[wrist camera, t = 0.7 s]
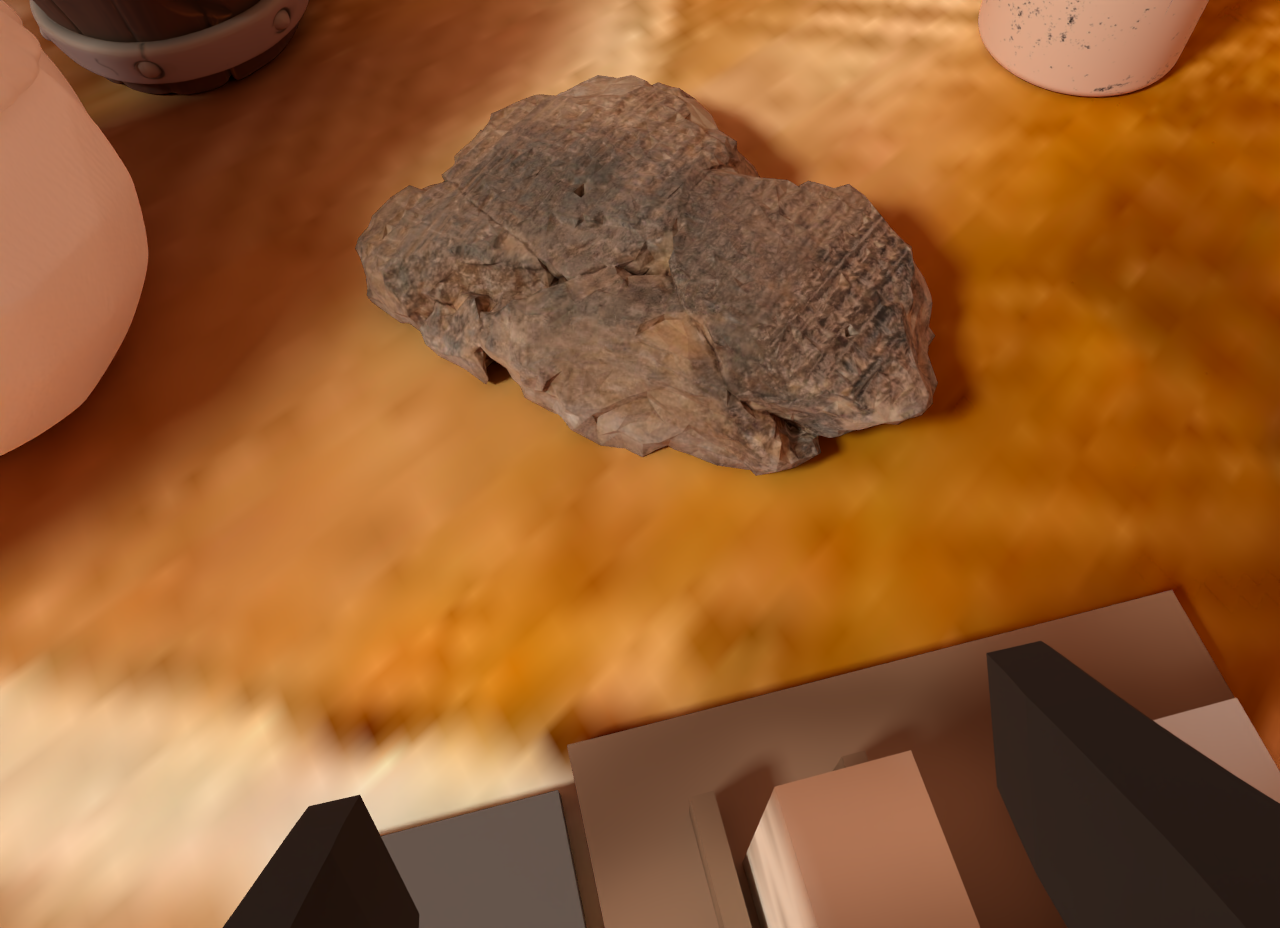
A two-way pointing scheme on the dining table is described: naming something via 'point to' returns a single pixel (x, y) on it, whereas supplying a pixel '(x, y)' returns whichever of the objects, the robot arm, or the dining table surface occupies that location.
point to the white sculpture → (58, 243)
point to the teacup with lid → (1088, 41)
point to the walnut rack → (846, 736)
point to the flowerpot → (170, 38)
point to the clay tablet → (657, 281)
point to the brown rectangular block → (855, 853)
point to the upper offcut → (1228, 742)
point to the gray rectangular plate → (492, 868)
